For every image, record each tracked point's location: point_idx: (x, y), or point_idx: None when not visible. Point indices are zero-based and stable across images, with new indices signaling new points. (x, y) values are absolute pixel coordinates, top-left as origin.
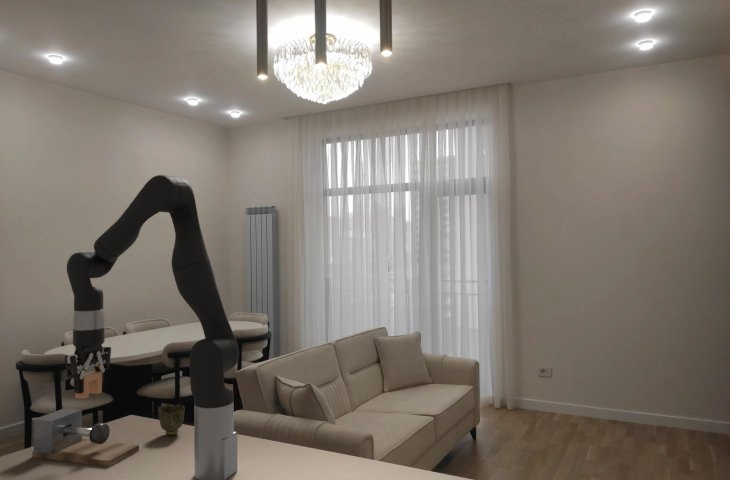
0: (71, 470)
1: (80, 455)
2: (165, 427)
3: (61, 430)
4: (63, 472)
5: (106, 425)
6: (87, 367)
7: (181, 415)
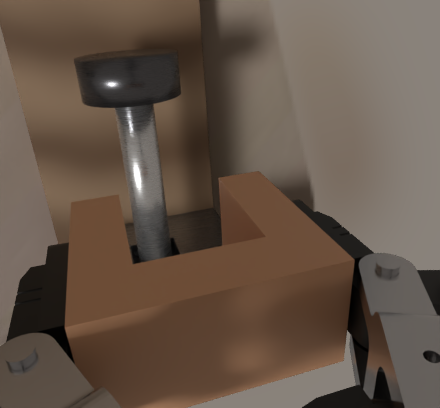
0: (256, 52)
1: (191, 97)
2: None
3: (189, 250)
4: (276, 65)
5: (100, 61)
6: (400, 333)
7: None
